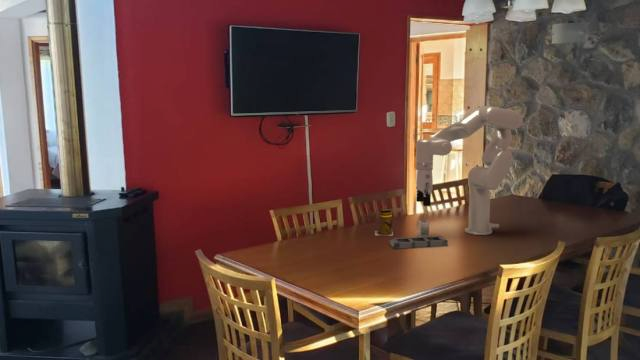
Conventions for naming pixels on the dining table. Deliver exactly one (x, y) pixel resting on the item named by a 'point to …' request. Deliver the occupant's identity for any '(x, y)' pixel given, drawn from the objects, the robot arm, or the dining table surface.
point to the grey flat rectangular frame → (418, 242)
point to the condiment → (385, 223)
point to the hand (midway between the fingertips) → (423, 203)
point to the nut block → (423, 228)
